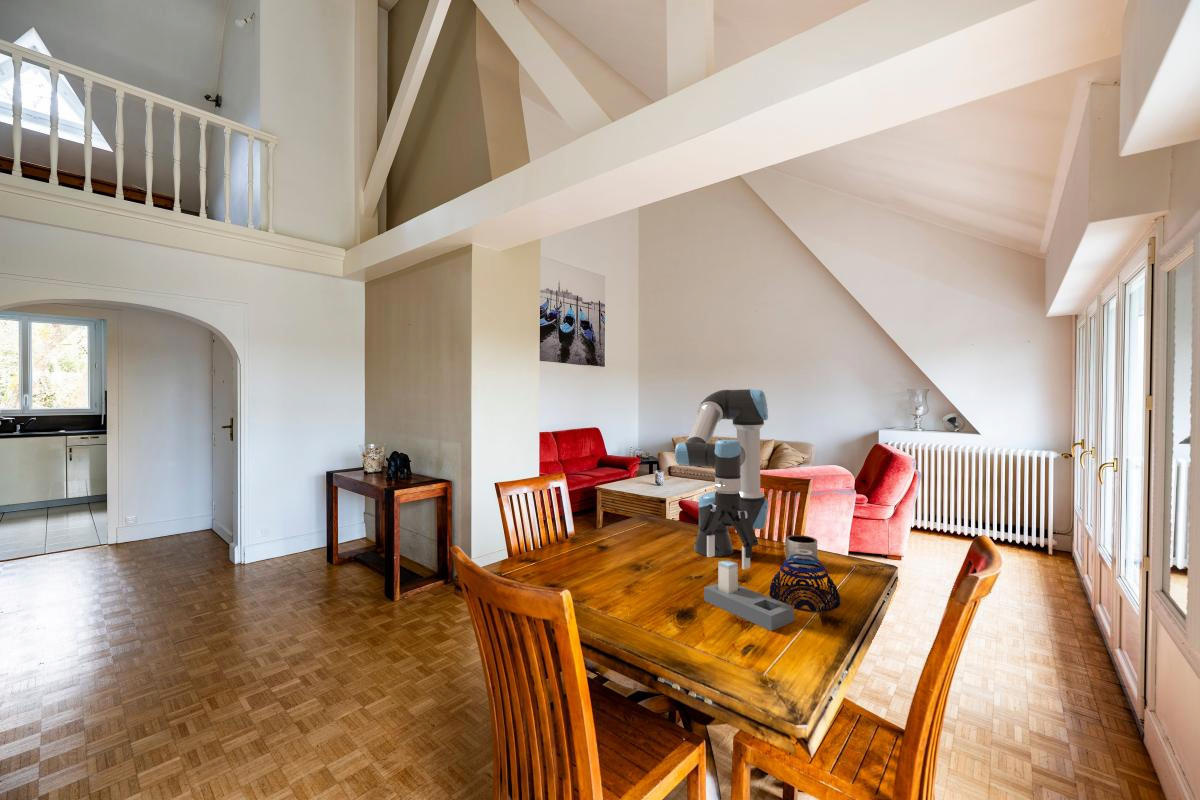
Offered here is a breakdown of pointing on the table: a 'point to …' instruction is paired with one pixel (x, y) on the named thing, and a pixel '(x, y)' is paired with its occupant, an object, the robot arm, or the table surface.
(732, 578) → the plug
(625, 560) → the table surface
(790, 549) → the planter
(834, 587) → the decorative bowl
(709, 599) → the gray socket block
